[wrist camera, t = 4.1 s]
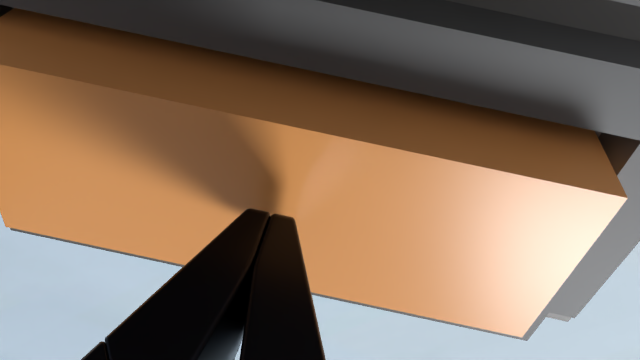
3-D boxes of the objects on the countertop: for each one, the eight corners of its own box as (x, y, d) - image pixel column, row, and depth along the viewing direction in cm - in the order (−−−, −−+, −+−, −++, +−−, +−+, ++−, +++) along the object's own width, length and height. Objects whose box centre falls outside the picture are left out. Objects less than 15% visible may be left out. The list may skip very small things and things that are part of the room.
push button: (56, 167, 12) (5, 226, 11) (18, 5, 10) (-57, 52, 8) (507, 264, 12) (522, 337, 10) (592, 127, 9) (627, 197, 8)
